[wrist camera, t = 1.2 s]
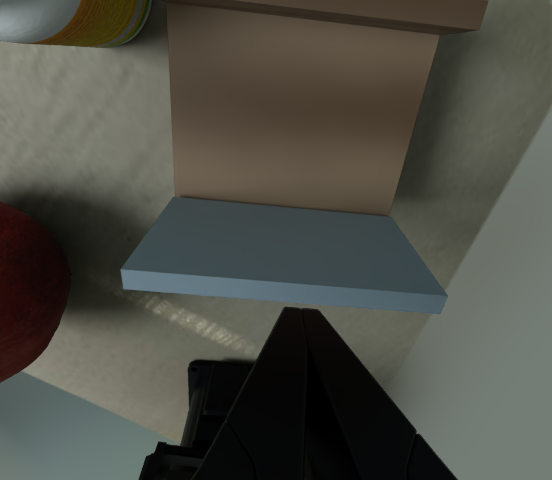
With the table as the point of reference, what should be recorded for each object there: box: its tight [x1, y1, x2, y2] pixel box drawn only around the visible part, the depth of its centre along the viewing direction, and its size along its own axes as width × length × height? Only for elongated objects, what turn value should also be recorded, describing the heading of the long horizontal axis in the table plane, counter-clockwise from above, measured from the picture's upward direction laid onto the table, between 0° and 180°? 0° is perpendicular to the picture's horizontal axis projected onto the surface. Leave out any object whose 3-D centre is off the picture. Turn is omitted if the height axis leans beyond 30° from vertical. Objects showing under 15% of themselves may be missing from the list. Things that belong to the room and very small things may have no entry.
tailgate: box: [121, 197, 448, 314], centre depth 14 cm, size 1×11×6 cm, turn 85°
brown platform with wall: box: [163, 0, 488, 217], centre depth 15 cm, size 9×11×6 cm
